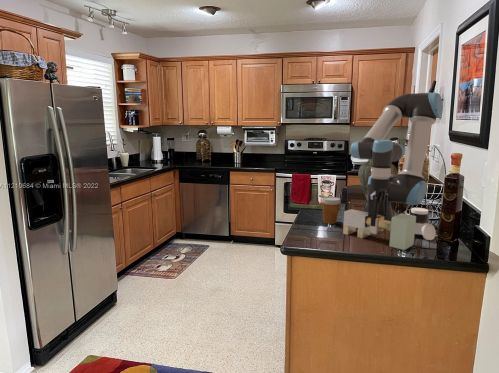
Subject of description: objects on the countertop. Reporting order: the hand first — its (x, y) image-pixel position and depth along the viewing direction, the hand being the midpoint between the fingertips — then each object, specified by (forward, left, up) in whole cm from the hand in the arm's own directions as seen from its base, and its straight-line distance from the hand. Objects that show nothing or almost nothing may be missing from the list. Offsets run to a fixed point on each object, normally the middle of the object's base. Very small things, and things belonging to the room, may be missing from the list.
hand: (376, 231), depth 153 cm
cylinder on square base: (0, -4, +1) cm, 5 cm away
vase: (-64, -32, -3) cm, 72 cm away
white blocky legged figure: (0, -9, -3) cm, 10 cm away
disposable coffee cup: (-8, -28, -3) cm, 29 cm away
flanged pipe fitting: (-18, +12, -4) cm, 22 cm away
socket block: (0, +11, -3) cm, 11 cm away
